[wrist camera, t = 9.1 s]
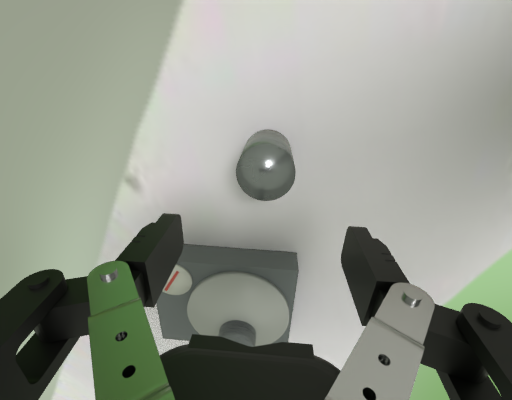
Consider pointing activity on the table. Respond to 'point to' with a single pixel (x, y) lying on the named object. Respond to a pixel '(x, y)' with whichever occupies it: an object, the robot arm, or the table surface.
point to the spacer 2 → (266, 166)
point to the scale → (229, 292)
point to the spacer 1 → (238, 332)
